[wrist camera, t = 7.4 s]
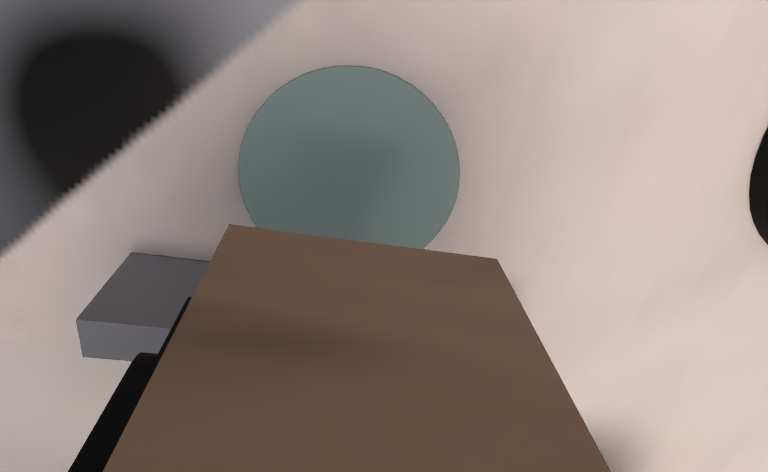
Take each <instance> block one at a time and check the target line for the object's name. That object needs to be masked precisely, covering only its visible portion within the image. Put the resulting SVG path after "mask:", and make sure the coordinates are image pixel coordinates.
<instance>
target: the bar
mask: <svg viewBox="0 0 768 472" xmlns="http://www.w3.org/2000/svg"><path fill="white" fill-rule="evenodd" d="M209 263H210V262H206V261H198V260H189V259H181V258H172V257H164V256H156V255H147V254H139V253H130V255H129V256H128V257H127V258H126V259H125V261H124V262H123V263H122V264H121V266H120V267H119V268H118V269H117V270H116V272H115V273H114V274H113V275H112V276H111V278H110V279H109V280H108V281H107V282H106V284H105V285H104V286H103V287H102V289H101V290H100V291H99V292H98V293H97V295H96V296H95V297H94V298H93V299H92V301H91V302H90V303H89V304H88V306H87V307H86V308H85V309H84V310H83V312H82V313H81V314H80V315H79V316H78V318H77V319H76V322H77V328H78V333H79V338H80V344H81V349H82V355H83V357H91V358H102V359H114V360H126V361H133V360H134V358H135V357H136V355H138V354H139V353H140V352H144V353H156V354H158V353H159V351H160V349H161V347H162V345H163V343H164V341H165V339H166V338H167V336H168V334H169V332H170V330H171V328H172V326H173V324H174V322H175V320H176V318H177V317H178V315H179V313H180V311H181V309H182V307H183V305H184V303H185V301H186V300H187V298H188V297H190V296H191V297H192V296H193V294H194V292H195V291H196V289H197V287H198V285H199V283H200V281H201V279H202V277H203V275H204V273H205V271H206V269H207V267H208V265H209Z"/></svg>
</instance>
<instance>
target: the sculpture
mask: <svg viewBox="0 0 768 472" xmlns="http://www.w3.org/2000/svg"><path fill="white" fill-rule="evenodd" d="M750 210H751V213H752V217H753V220H754V224H755V226H756V228H757V230H758V232H759V234H760V235H761V237H762V238H763V239H764V241H765V242H766V243H767V244H768V130H767V132H766V134H765V136H764V138H763V141H762V144H761V146H760V149H759V151H758V154H757V156H756V159H755V163H754V166H753V170H752V174H751V181H750Z"/></svg>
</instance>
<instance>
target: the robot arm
mask: <svg viewBox="0 0 768 472" xmlns="http://www.w3.org/2000/svg"><path fill="white" fill-rule="evenodd" d="M191 298H192V297H191V296H190V297H188V298H187V300H186V301H185V303H184V305H183V307H182V309H181V311H180V313H179V315H178V317H177V318H176V320H175V322H174V324H173V326H172V328H171V330H170V332H169V334H168V336H167V338H166V339H165V341H164V343H163V345H162V347H161V349H160V351H159V353H158V354H156V353H144V352H140V353H139V354H138V355H136V357H135V358H134V360H133V361H132V363H131V364H130V366H129V368H128V370H127V371H126V373H125V375H124V376H123V378H122V380H121V382H120V383H119V385H118V387H117V388H116V390H115V392H114V394H113V395H112V397H111V399H110V400H109V402H108V404H107V406H106V407H105V409H104V411H103V413H102V414H101V416H100V418H99V419H98V421H97V423H96V425H95V426H94V428H93V430H92V431H91V433H90V435H89V437H88V438H87V440H86V442H85V443H84V445H83V447H82V449H81V450H80V452H79V454H78V455H77V457H76V459H75V461H74V462H73V464H72V466H71V467H70V469H69V471H68V472H103V470H104V468H105V466H106V465H107V463H108V461H109V459H110V457H111V455H112V453H113V451H114V449H115V447H116V445H117V443H118V441H119V439H120V437H121V435H122V433H123V431H124V429H125V427H126V425H127V423H128V422H129V420H130V418H131V416H132V414H133V412H134V410H135V408H136V406H137V404H138V402H139V400H140V398H141V396H142V394H143V392H144V390H145V388H146V386H147V384H148V382H149V380H150V379H151V377H152V375H153V373H154V371H155V369H156V367H157V365H158V363H159V361H160V359H161V357H162V355H163V353H164V351H165V349H166V347H167V345H168V343H169V341H170V339H171V337H172V335H173V334H174V332H175V330H176V328H177V326H178V324H179V322H180V320H181V318H182V316H183V314H184V312H185V310H186V308H187V306H188V304H189V302H190V300H191Z"/></svg>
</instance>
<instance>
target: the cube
mask: <svg viewBox="0 0 768 472" xmlns="http://www.w3.org/2000/svg"><path fill="white" fill-rule="evenodd" d="M103 472H611V471H610V469H609V468H608V466H607V464H606V462H605V460H604V458H603V456H602V455H601V453H600V451H599V449H598V447H597V445H596V443H595V441H594V440H593V438H592V436H591V434H590V432H589V430H588V428H587V427H586V425H585V423H584V421H583V419H582V417H581V415H580V413H579V412H578V410H577V408H576V406H575V404H574V402H573V400H572V398H571V397H570V395H569V393H568V391H567V389H566V387H565V385H564V384H563V382H562V380H561V378H560V376H559V374H558V372H557V370H556V369H555V367H554V365H553V363H552V361H551V359H550V357H549V355H548V354H547V352H546V350H545V348H544V346H543V344H542V342H541V341H540V339H539V337H538V335H537V333H536V331H535V329H534V327H533V326H532V324H531V322H530V320H529V318H528V316H527V314H526V312H525V311H524V309H523V307H522V305H521V303H520V301H519V299H518V298H517V296H516V294H515V292H514V290H513V288H512V286H511V284H510V283H509V281H508V279H507V277H506V275H505V273H504V271H503V270H502V268H501V266H500V264H499V262H498V260H497V259H492V258H485V257H477V256H469V255H462V254H454V253H446V252H439V251H431V250H423V249H415V248H408V247H400V246H392V245H385V244H377V243H369V242H361V241H354V240H346V239H338V238H331V237H323V236H315V235H307V234H300V233H292V232H284V231H277V230H269V229H261V228H253V227H246V226H238V225H230V224H229V226H228V228H227V230H226V232H225V234H224V236H223V238H222V240H221V242H220V244H219V246H218V248H217V249H216V251H215V253H214V255H213V257H212V259H211V261H210V263H209V265H208V267H207V269H206V271H205V273H204V275H203V277H202V279H201V281H200V283H199V285H198V287H197V289H196V291H195V292H194V294H193V296H192V298H191V300H190V302H189V304H188V306H187V308H186V310H185V312H184V314H183V316H182V318H181V320H180V322H179V324H178V326H177V328H176V330H175V332H174V334H173V335H172V337H171V339H170V341H169V343H168V345H167V347H166V349H165V351H164V353H163V355H162V357H161V359H160V361H159V363H158V365H157V367H156V369H155V371H154V373H153V375H152V377H151V379H150V380H149V382H148V384H147V386H146V388H145V390H144V392H143V394H142V396H141V398H140V400H139V402H138V404H137V406H136V408H135V410H134V412H133V414H132V416H131V418H130V420H129V422H128V423H127V425H126V427H125V429H124V431H123V433H122V435H121V437H120V439H119V441H118V443H117V445H116V447H115V449H114V451H113V453H112V455H111V457H110V459H109V461H108V463H107V465H106V466H105V468H104V470H103Z"/></svg>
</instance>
